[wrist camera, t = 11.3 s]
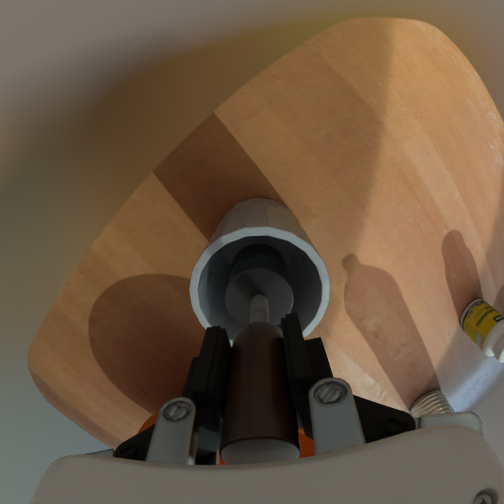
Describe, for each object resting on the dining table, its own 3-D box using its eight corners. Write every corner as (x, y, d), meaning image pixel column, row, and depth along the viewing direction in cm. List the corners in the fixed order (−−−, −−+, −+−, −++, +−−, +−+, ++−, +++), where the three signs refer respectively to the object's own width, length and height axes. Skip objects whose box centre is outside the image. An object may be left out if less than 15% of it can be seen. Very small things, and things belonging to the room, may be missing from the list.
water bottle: (438, 405, 37) (488, 505, 13) (406, 419, 37) (450, 528, 14) (445, 382, 35) (507, 490, 11) (411, 397, 35) (466, 517, 11)
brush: (221, 276, 21) (171, 458, 7) (250, 232, 20) (235, 400, 6) (266, 302, 22) (274, 488, 7) (296, 261, 21) (356, 439, 6)
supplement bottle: (484, 291, 29) (525, 324, 20) (483, 318, 31) (519, 352, 21) (458, 308, 30) (498, 347, 21) (459, 336, 31) (493, 375, 22)
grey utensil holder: (202, 251, 28) (167, 311, 17) (246, 180, 26) (237, 197, 14) (270, 291, 29) (276, 369, 18) (317, 227, 27) (356, 276, 16)
